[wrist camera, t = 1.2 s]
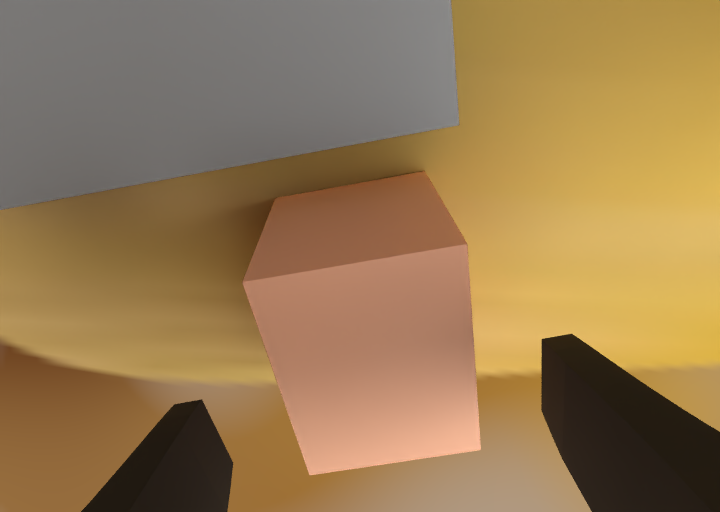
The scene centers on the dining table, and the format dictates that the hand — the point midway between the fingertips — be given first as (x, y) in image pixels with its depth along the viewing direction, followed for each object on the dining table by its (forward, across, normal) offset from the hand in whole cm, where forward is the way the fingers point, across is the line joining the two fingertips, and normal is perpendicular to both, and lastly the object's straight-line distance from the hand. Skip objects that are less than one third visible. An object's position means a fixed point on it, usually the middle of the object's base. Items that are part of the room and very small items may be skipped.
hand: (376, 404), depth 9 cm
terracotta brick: (+6, 0, 0) cm, 6 cm away
